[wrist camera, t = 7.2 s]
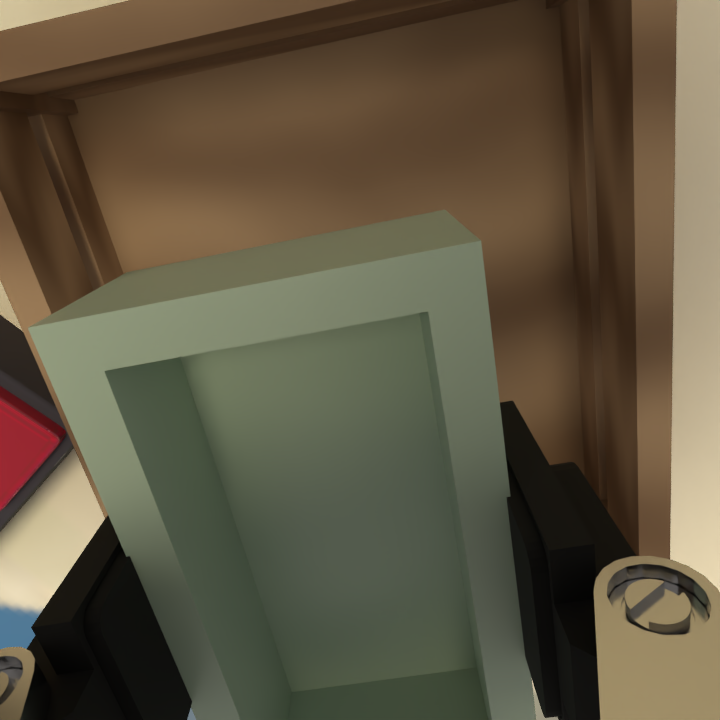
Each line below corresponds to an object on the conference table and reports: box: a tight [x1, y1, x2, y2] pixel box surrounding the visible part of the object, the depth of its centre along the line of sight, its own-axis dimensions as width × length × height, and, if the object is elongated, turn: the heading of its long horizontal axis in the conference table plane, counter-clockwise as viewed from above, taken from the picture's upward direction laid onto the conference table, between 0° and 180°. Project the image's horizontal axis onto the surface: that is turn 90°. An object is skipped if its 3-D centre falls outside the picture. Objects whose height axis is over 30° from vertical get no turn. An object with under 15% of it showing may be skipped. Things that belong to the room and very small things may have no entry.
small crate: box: [28, 210, 536, 720], centre depth 10 cm, size 10×5×3 cm, turn 11°
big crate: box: [0, 0, 677, 559], centre depth 19 cm, size 20×18×6 cm
